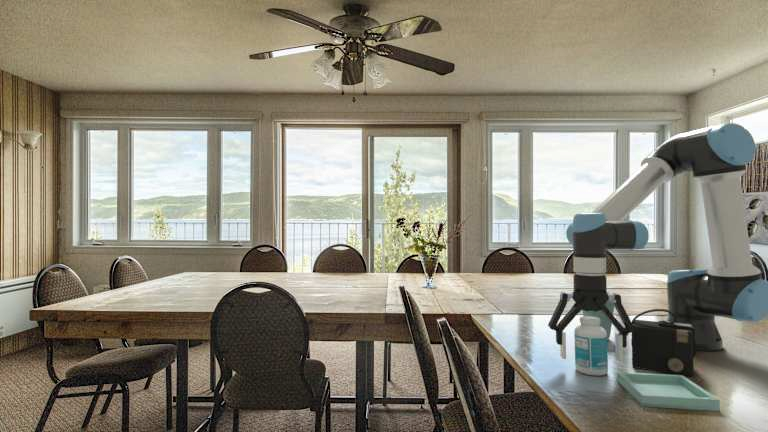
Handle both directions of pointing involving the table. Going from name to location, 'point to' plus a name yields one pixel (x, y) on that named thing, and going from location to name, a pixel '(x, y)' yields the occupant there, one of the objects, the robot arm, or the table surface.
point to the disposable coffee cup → (603, 316)
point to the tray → (667, 391)
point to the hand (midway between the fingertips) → (590, 358)
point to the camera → (663, 345)
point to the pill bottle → (591, 347)
